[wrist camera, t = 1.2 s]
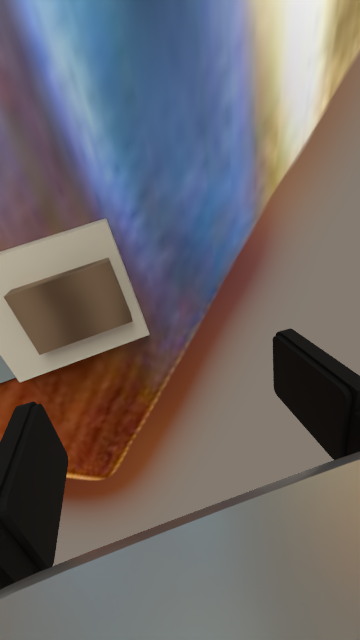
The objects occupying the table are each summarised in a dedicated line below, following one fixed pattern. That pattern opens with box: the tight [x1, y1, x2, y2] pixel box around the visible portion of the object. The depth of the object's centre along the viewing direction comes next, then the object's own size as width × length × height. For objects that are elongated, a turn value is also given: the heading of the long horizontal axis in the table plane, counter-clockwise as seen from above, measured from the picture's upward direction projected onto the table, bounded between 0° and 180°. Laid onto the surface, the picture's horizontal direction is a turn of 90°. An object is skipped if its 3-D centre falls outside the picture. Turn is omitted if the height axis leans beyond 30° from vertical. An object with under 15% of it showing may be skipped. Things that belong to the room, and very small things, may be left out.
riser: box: [0, 218, 150, 382], centre depth 28 cm, size 14×12×4 cm
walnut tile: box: [4, 257, 133, 355], centre depth 25 cm, size 9×6×2 cm, turn 106°
